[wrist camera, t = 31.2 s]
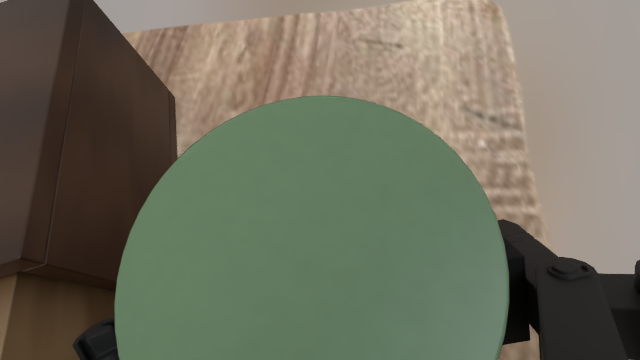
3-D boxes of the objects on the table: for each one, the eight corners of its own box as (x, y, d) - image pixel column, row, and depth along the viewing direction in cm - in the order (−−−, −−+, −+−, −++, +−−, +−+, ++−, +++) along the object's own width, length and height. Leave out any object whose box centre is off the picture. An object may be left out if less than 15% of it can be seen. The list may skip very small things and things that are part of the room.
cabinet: (184, 299, 19) (19, 258, 11) (-36, 364, 20) (-358, 374, 11) (175, 96, 27) (74, -24, 18) (15, 148, 27) (-155, 56, 19)
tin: (399, 218, 19) (412, 55, 9) (461, 377, 15) (618, 434, 5) (265, 258, 20) (120, 149, 9) (293, 423, 16) (97, 569, 5)
